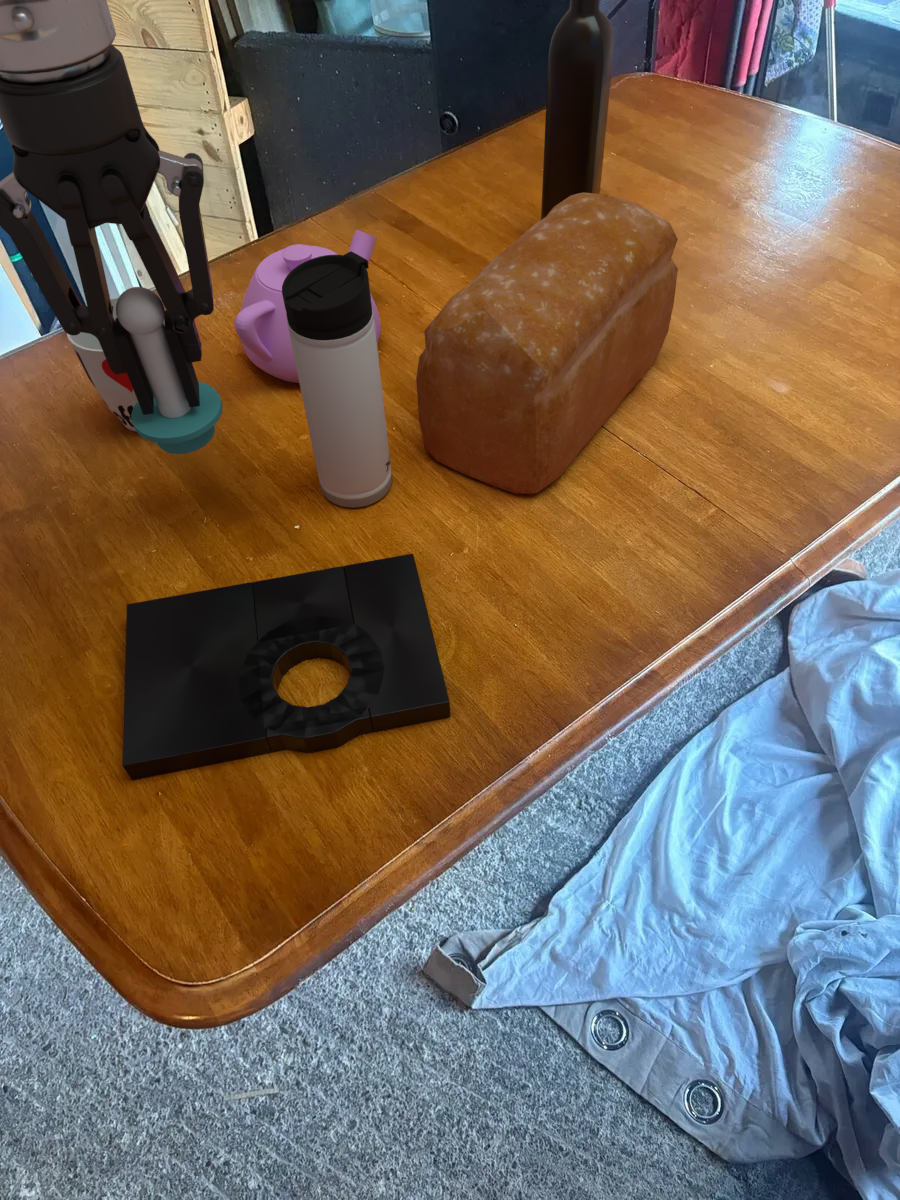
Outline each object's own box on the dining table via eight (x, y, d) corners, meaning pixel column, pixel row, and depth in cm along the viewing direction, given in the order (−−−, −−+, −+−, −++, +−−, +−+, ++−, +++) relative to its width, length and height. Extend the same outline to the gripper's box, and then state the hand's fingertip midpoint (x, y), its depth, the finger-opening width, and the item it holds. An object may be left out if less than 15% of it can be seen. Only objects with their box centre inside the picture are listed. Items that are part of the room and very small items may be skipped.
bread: (407, 453, 80) (392, 296, 67) (551, 308, 93) (560, 156, 81) (542, 511, 74) (552, 353, 62) (674, 348, 88) (703, 192, 76)
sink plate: (131, 788, 60) (121, 774, 58) (134, 620, 69) (126, 604, 67) (452, 724, 62) (451, 709, 60) (414, 569, 71) (413, 553, 69)
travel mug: (410, 480, 77) (390, 270, 62) (352, 520, 75) (316, 310, 59) (363, 447, 80) (333, 238, 65) (306, 484, 77) (260, 275, 62)
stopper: (141, 471, 67) (79, 327, 58) (142, 414, 72) (84, 271, 62) (231, 455, 68) (184, 310, 58) (226, 400, 72) (182, 256, 62)
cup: (89, 434, 83) (47, 343, 75) (133, 381, 88) (98, 290, 80) (166, 449, 81) (132, 357, 73) (207, 395, 86) (179, 303, 78)
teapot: (430, 314, 93) (424, 216, 85) (311, 422, 83) (291, 322, 74) (326, 278, 98) (311, 182, 90) (201, 376, 88) (171, 277, 79)
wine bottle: (537, 248, 100) (551, -76, 77) (549, 222, 104) (567, -95, 80) (586, 255, 99) (616, -72, 76) (597, 229, 102) (629, -92, 79)
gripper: (-113, 102, 46) (61, 449, 64) (197, 64, 47) (280, 413, 66) (-88, 47, 50) (67, 385, 69) (193, 14, 52) (272, 353, 70)
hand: (171, 398), depth 67 cm, fingers closed on stopper, 3 cm apart
